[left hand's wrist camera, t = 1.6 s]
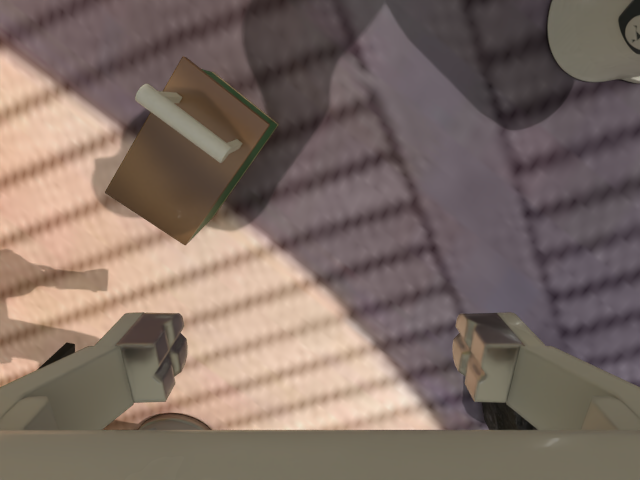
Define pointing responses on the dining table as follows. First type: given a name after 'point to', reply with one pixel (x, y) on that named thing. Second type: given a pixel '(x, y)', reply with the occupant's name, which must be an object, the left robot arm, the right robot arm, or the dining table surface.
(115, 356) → the left robot arm
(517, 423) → the rock
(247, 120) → the lid
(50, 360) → the right robot arm
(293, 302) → the dining table surface
